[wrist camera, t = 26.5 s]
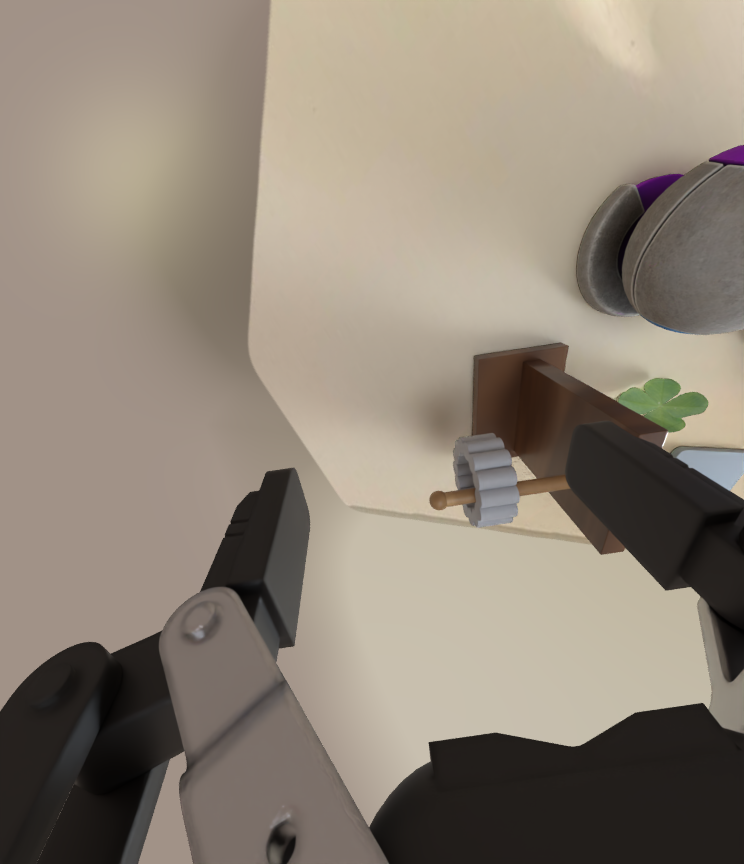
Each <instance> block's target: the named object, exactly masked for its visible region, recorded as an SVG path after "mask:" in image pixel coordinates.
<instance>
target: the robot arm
mask: <svg viewBox="0 0 744 864" xmlns="http://www.w3.org/2000/svg"><path fill="white" fill-rule="evenodd" d="M565 477H566V481H567V483H568V485H569V487H570V489H571V490H572V491H573V492H574V493H575V495H576V496H577V497H578V498H579V499H580V500H581V501H582V502H583V503H584V504H585V505H586V506H587V507H588V508H589V509H590V510H591V512H592V513H593V514H594V515H595V516H596V517H597V518H598V519H599V520H600V521H601V522H602V523H603V524H604V525H605V526H606V527H607V529H608V530H609V531H610V532H611V533H612V534H613V535H614V536H615V537H616V538H617V539H618V540H619V541H620V542H621V543H622V545H623V546H624V547H625V548H626V549H627V550H628V551H629V552H630V553H631V554H632V555H633V556H634V557H635V558H636V559H637V560H638V562H640V564H641V565H642V566H643V567H644V568H645V569H646V570H647V571H648V572H649V573H650V574H651V575H652V576H653V577H654V578H655V580H656V581H657V582H659V584H660V585H661V586H662V587H663V588H664V589H665V590H673V589H680V588H686V587H692V588H693V589H694V590H695V591H696V592H697V593H698V594H699V595H700V596H701V597H700V599H699V600H698V604H697V605H698V613H699V619H700V625H701V630H702V636H703V642H704V647H705V653H706V659H707V664H708V670H709V675H710V681H711V690H712V694H711V703H710V706H709V710H708V709H707V707H706V706H705V705H704V704H703V703H700V704H693V705H686V706H679V707H672V708H665V709H658V710H651V711H644V712H637V713H634V714H633V715H631V716H629V717H627V718H626V719H624V720H622V721H621V722H619V723H618V724H616V725H614V726H613V727H611V728H609V729H608V730H606V731H604V732H603V733H601V734H599V735H598V736H596V737H595V738H593V739H591V740H590V741H588V742H586V743H585V744H583V745H581V746H575V747H571V746H564V745H559V744H554V743H548V742H543V741H537V740H532V739H526V738H521V737H516V736H511V735H506V734H500V733H490V734H483V735H476V736H469V737H462V738H456V739H448V740H442V741H434V742H429V750H430V759H431V762H429V763H427V764H425V765H423V766H422V767H420V768H418V769H416V770H415V771H414V772H413V773H412V774H410V775H409V776H408V777H407V778H405V779H404V780H403V781H402V782H401V783H400V784H399V785H398V787H397V788H396V789H395V790H394V791H393V792H392V793H391V794H390V795H389V797H388V798H387V799H386V801H385V802H384V804H383V805H382V807H381V808H380V810H379V811H378V812H377V814H376V816H375V818H374V819H373V821H372V823H371V825H370V827H368V825H367V824H366V822H365V820H364V818H363V816H362V815H361V813H360V811H359V809H358V807H357V806H356V804H355V802H354V800H353V798H352V797H351V795H350V793H349V791H348V790H347V788H346V786H345V784H344V783H343V781H342V779H341V777H340V775H339V773H338V772H337V770H336V768H335V766H334V764H333V763H332V761H331V759H330V757H329V756H328V754H327V752H326V750H325V748H324V747H323V745H322V743H321V741H320V740H319V738H318V736H317V734H316V732H315V731H314V729H313V727H312V725H311V724H310V722H309V720H308V718H307V716H306V715H305V713H304V711H303V709H302V707H301V706H300V704H299V702H298V700H297V699H296V697H295V695H294V693H293V691H292V690H291V688H290V686H289V684H288V683H287V681H286V680H285V678H284V676H283V674H282V673H281V671H280V669H279V667H278V665H277V664H276V661H277V655H278V650H279V648H285V647H293V646H294V645H295V637H296V630H297V622H298V615H299V607H300V599H301V592H302V585H303V577H304V570H305V562H306V555H307V547H308V540H309V532H310V516H309V510H308V506H307V503H306V500H305V497H304V493H303V490H302V487H301V483H300V480H299V477H298V474H297V472H296V469H295V468H288V469H281V470H275V471H268V472H267V473H266V474H265V477H264V479H263V482H262V485H261V488H260V490H259V491H254V492H250V493H249V494H248V495H247V496H246V497H245V498H244V499H243V500H242V501H241V503H240V504H239V505H238V506H237V507H236V510H235V512H234V514H233V517H232V519H231V524H230V525H229V526H228V528H227V531H226V533H225V538H223V540H222V542H221V545H220V547H219V549H218V552H217V554H216V556H215V559H214V561H213V564H212V565H211V568H210V570H209V572H208V575H207V577H206V579H205V582H204V584H203V586H202V589H201V591H200V592H199V593H197V594H196V595H194V596H192V597H191V598H189V599H188V600H187V601H185V602H184V603H183V604H182V605H181V606H180V607H179V608H178V609H177V610H176V611H175V612H174V613H173V614H172V615H171V617H170V618H169V620H168V621H167V623H166V624H165V626H164V628H163V630H162V631H160V632H158V633H156V634H154V635H152V636H150V637H148V638H145V639H143V640H141V641H139V642H136V643H134V644H132V645H129V646H127V647H125V648H123V649H120V650H118V651H116V652H114V653H111V654H110V653H109V652H108V651H107V650H106V649H105V648H104V647H103V646H101V645H100V644H99V643H96V642H85V643H80V644H77V645H74V646H72V647H69V648H67V649H65V650H63V651H62V652H59V653H58V654H56V655H55V656H53V657H51V658H50V659H49V660H47V661H46V662H45V663H43V664H42V665H41V666H39V667H38V668H37V669H36V670H35V671H34V672H33V673H31V674H30V675H29V676H28V677H27V678H26V679H25V680H24V681H23V683H22V684H21V685H20V686H19V687H18V688H17V689H16V691H15V692H14V693H13V694H12V696H11V697H10V698H9V700H8V701H7V703H6V704H5V705H4V707H3V709H2V710H1V711H0V864H138V861H139V858H140V855H141V852H142V849H143V845H144V842H145V839H146V836H147V832H148V829H149V826H150V823H151V819H152V816H153V813H154V809H155V806H156V803H157V799H158V796H159V793H160V790H161V786H162V783H163V780H164V777H165V774H166V770H167V767H168V763H169V760H170V759H171V758H173V757H175V756H176V755H178V754H180V753H182V752H184V751H185V755H186V760H187V769H186V772H185V773H183V774H182V776H181V778H180V783H179V794H180V803H181V809H182V814H183V818H184V823H185V828H186V832H187V837H188V841H189V846H190V851H191V855H192V860H193V864H744V500H743V499H742V498H740V497H738V496H737V495H735V494H734V493H732V492H731V491H729V490H727V489H726V488H724V487H723V486H721V485H719V484H718V483H716V482H715V481H713V480H711V479H710V478H708V477H707V476H705V475H703V474H702V473H700V472H699V471H697V470H695V469H694V468H689V467H688V465H687V464H686V463H684V462H683V461H681V460H679V459H678V458H673V455H671V454H670V453H668V452H667V451H665V450H663V449H662V448H660V447H659V446H657V445H655V444H654V443H651V442H648V441H646V440H643V439H640V438H638V437H635V436H633V435H631V434H630V433H628V432H627V431H625V430H624V429H622V428H620V427H619V426H617V425H616V424H614V423H613V422H611V421H600V422H594V423H587V424H580V425H577V426H576V427H575V428H574V430H573V433H572V438H571V443H570V448H569V453H568V457H567V462H566V467H565ZM70 791H71V792H70ZM69 793H70V794H69ZM68 795H69V796H68ZM67 797H68V798H67ZM66 799H67V800H66ZM61 810H62V811H61ZM60 812H61V813H60ZM59 814H60V815H59ZM58 816H59V817H58ZM57 818H58V819H57ZM52 829H53V830H52ZM51 831H52V832H51ZM50 833H51V834H50ZM49 835H50V836H49ZM48 837H49V838H48ZM44 846H45V847H44ZM43 848H44V849H43ZM42 850H43V851H42ZM41 852H42V853H41ZM40 854H41V855H40Z"/></svg>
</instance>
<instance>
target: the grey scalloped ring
mask: <svg viewBox="0 0 744 864" xmlns="http://www.w3.org/2000/svg"><path fill="white" fill-rule="evenodd" d="M453 456H454V462H453V467H454V472H455V474H456V475H455V482H456V486H457V489H458V490H464V489H471V488H476V489H475V499H476V502H475V503H469V504H462V505H463V510H464V513H465V515H466V517H468V518H469V521H470V523H471V525H473V526H474V525H475V526H476V527H485V526H492V525H498V524H505V523H511V522H512V521H513V517H516V516H517V514H518V508H517V504H516V503H518V502H519V499H520V496H519V491H518V488H517V486H516V484H517V474H516V471H515V469H514V468H513V467H512V466H511V465H512V460H511V455H510V453H509V451H508V450H507V449H505V448H504V443H503V441H502V439H501V438H499V437H498V438H496V436H495V434H494V433H488V434H481V435H474V436H468V437H461V438H459V440H456V441H455V448H454V450H453Z"/></svg>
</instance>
